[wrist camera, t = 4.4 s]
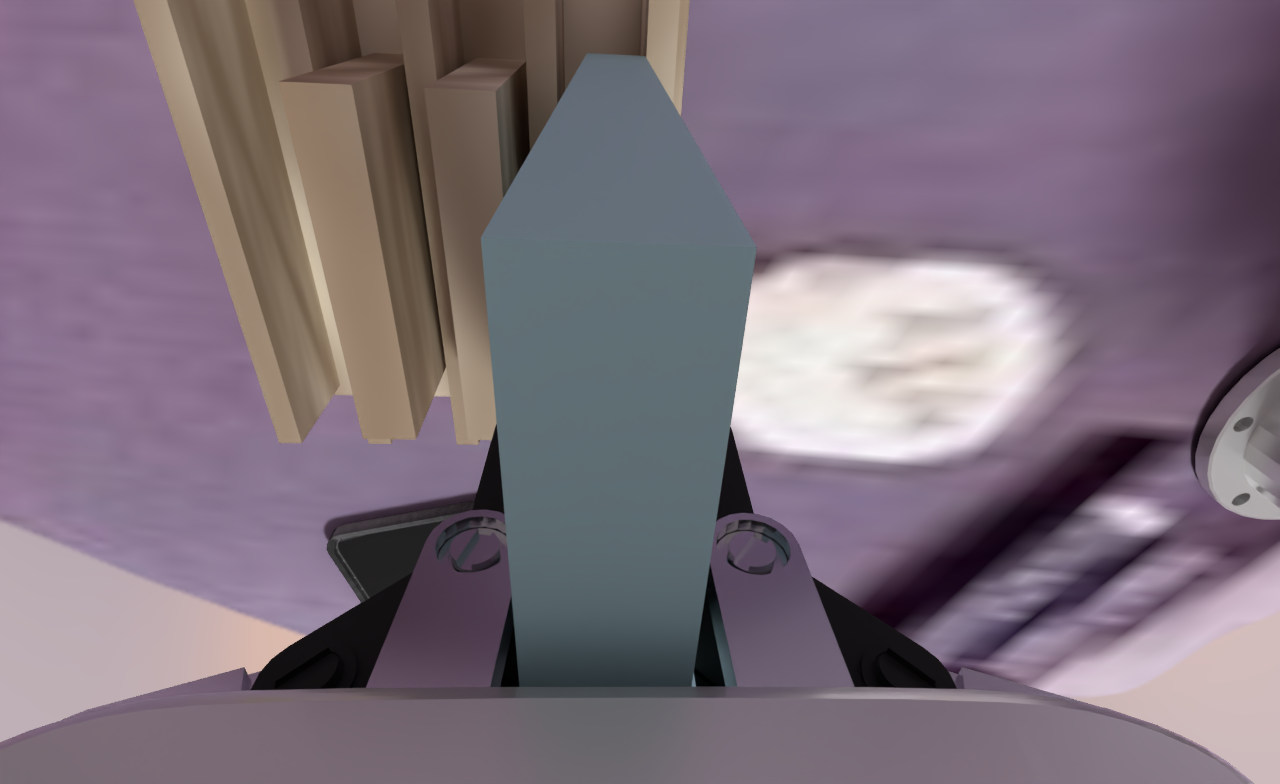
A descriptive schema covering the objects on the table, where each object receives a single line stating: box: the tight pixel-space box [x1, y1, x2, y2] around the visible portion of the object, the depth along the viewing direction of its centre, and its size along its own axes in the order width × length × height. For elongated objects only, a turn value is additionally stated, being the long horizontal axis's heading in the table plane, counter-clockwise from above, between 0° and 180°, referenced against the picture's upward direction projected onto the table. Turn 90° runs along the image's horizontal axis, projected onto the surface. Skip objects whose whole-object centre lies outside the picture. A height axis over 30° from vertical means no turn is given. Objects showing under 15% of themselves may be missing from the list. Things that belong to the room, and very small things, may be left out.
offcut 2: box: [424, 58, 530, 440], centre depth 20 cm, size 2×10×7 cm, turn 177°
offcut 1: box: [278, 53, 446, 439], centre depth 20 cm, size 2×10×7 cm, turn 177°
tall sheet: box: [481, 53, 757, 687], centre depth 14 cm, size 2×12×16 cm, turn 177°
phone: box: [327, 501, 475, 603], centre depth 34 cm, size 8×1×15 cm
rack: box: [134, 0, 690, 445], centre depth 22 cm, size 15×16×5 cm
